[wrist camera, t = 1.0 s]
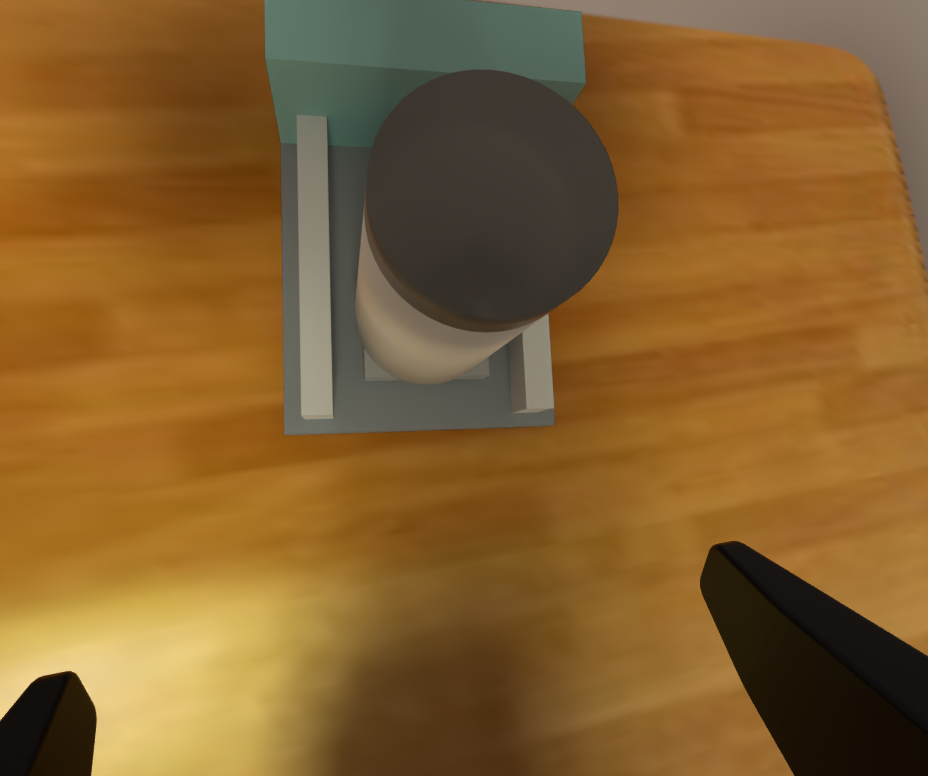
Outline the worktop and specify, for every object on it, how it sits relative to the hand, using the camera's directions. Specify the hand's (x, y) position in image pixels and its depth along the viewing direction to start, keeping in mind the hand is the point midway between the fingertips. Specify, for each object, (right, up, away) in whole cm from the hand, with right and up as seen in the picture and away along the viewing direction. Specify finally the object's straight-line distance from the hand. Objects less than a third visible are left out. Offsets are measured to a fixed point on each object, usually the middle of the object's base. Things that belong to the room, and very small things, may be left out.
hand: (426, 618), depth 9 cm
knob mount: (-1, +8, +16) cm, 18 cm away
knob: (-1, +6, +14) cm, 15 cm away
